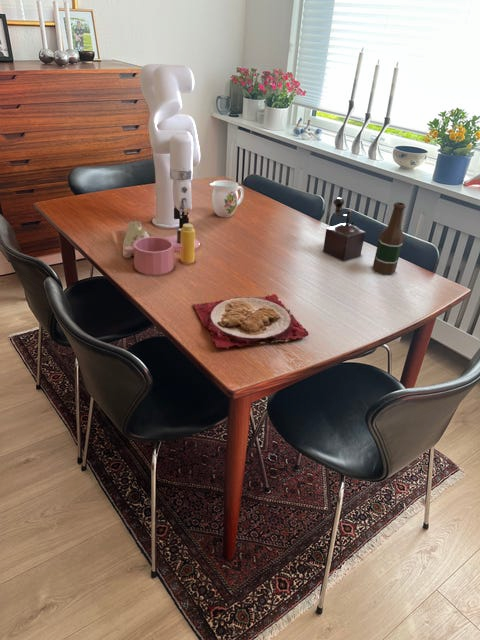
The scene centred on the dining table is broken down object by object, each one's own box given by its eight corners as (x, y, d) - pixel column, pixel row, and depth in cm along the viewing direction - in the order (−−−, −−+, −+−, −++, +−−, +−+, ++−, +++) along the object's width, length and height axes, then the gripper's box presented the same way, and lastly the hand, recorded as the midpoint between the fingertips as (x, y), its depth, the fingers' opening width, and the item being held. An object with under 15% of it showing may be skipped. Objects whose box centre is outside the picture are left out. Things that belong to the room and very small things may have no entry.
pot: (124, 260, 162) (122, 238, 158) (177, 257, 167) (177, 235, 163) (128, 277, 152) (127, 254, 148) (185, 273, 157) (185, 250, 153)
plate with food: (309, 340, 130) (311, 329, 128) (216, 351, 121) (217, 339, 119) (275, 298, 149) (276, 288, 147) (193, 305, 140) (193, 294, 139)
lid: (158, 238, 180) (158, 223, 177) (194, 237, 184) (195, 222, 181) (165, 254, 169) (164, 237, 166) (203, 251, 173) (203, 236, 170)
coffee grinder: (362, 255, 180) (373, 208, 171) (343, 261, 174) (353, 213, 165) (331, 241, 190) (339, 195, 181) (311, 246, 184) (319, 200, 175)
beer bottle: (395, 268, 173) (412, 202, 160) (394, 277, 166) (412, 209, 154) (373, 264, 174) (388, 198, 162) (371, 272, 168) (386, 205, 156)
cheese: (146, 268, 163) (168, 232, 167) (130, 256, 158) (153, 218, 162) (123, 266, 174) (143, 231, 178) (107, 254, 169) (128, 219, 173)
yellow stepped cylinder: (179, 259, 166) (179, 222, 159) (192, 258, 168) (193, 222, 161) (181, 265, 163) (182, 228, 156) (195, 264, 164) (196, 227, 157)
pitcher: (250, 214, 210) (253, 182, 202) (217, 221, 199) (218, 188, 192) (233, 206, 216) (236, 175, 209) (201, 213, 206) (202, 181, 199)
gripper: (198, 181, 157) (197, 231, 166) (187, 167, 171) (186, 215, 180) (175, 181, 155) (175, 232, 164) (165, 167, 169) (166, 215, 178)
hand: (181, 223), depth 172 cm, fingers open, 9 cm apart
